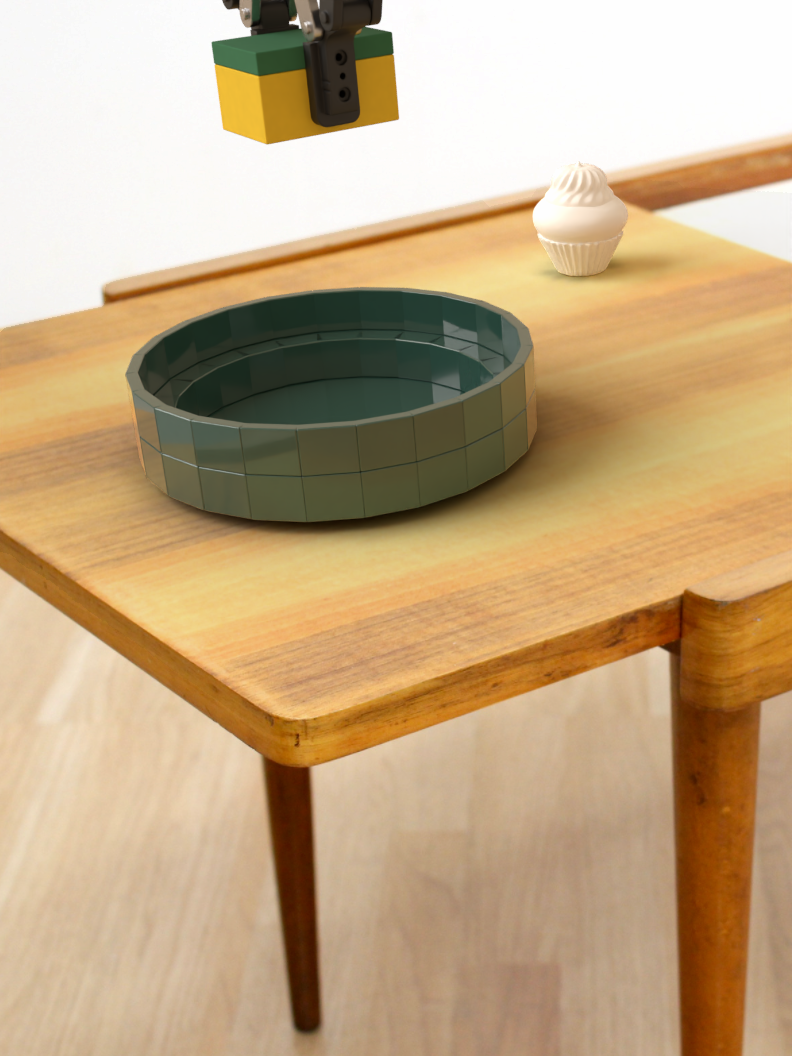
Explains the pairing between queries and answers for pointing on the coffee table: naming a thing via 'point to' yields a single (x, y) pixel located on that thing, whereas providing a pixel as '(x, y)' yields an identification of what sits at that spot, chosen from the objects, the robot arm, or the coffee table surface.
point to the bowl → (333, 403)
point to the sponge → (296, 84)
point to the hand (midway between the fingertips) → (309, 113)
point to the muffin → (580, 220)
